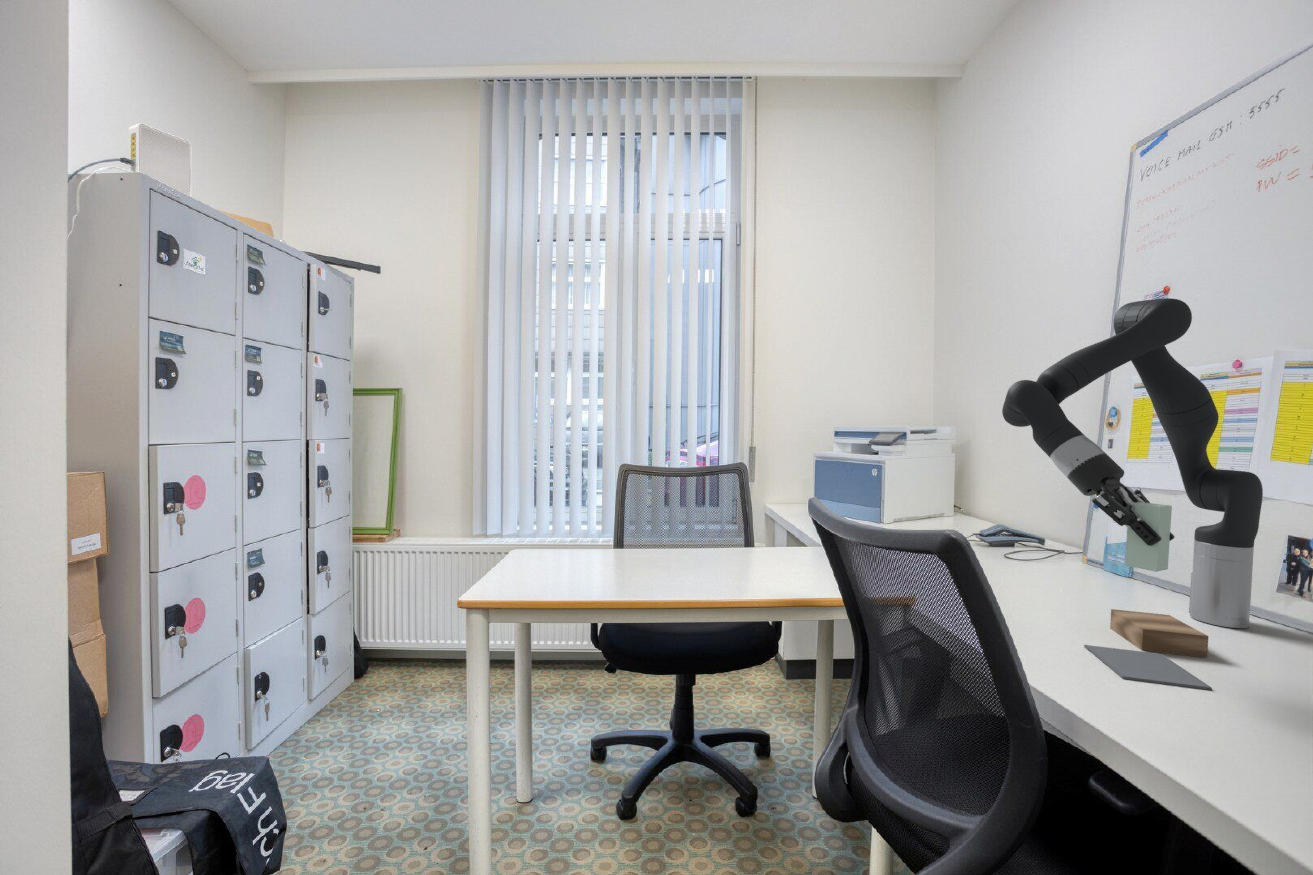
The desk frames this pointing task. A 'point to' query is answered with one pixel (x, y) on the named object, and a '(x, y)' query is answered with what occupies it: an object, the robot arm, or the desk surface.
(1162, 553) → the sage block
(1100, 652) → the charcoal mat
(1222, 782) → the desk surface
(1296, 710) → the desk surface
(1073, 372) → the robot arm
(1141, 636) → the walnut block
